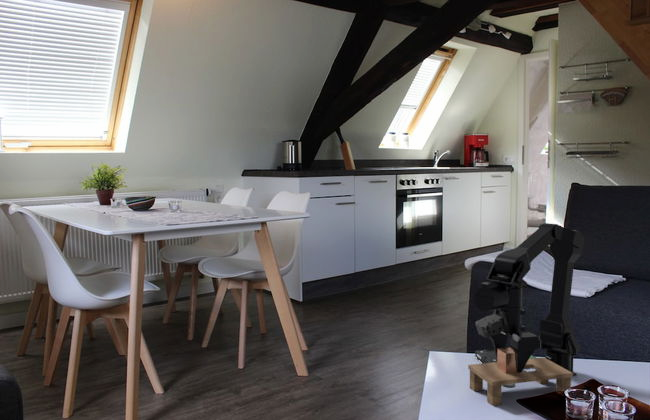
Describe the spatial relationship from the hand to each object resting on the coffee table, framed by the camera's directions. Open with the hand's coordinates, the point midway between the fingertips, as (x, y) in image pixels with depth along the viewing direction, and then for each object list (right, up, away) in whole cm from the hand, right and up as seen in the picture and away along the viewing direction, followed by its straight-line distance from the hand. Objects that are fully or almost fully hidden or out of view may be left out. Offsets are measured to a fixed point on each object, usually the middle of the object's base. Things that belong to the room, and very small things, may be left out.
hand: (508, 366), depth 147 cm
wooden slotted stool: (+3, -7, +1) cm, 8 cm away
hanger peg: (0, -5, 0) cm, 5 cm away
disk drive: (+7, -6, +24) cm, 25 cm away
